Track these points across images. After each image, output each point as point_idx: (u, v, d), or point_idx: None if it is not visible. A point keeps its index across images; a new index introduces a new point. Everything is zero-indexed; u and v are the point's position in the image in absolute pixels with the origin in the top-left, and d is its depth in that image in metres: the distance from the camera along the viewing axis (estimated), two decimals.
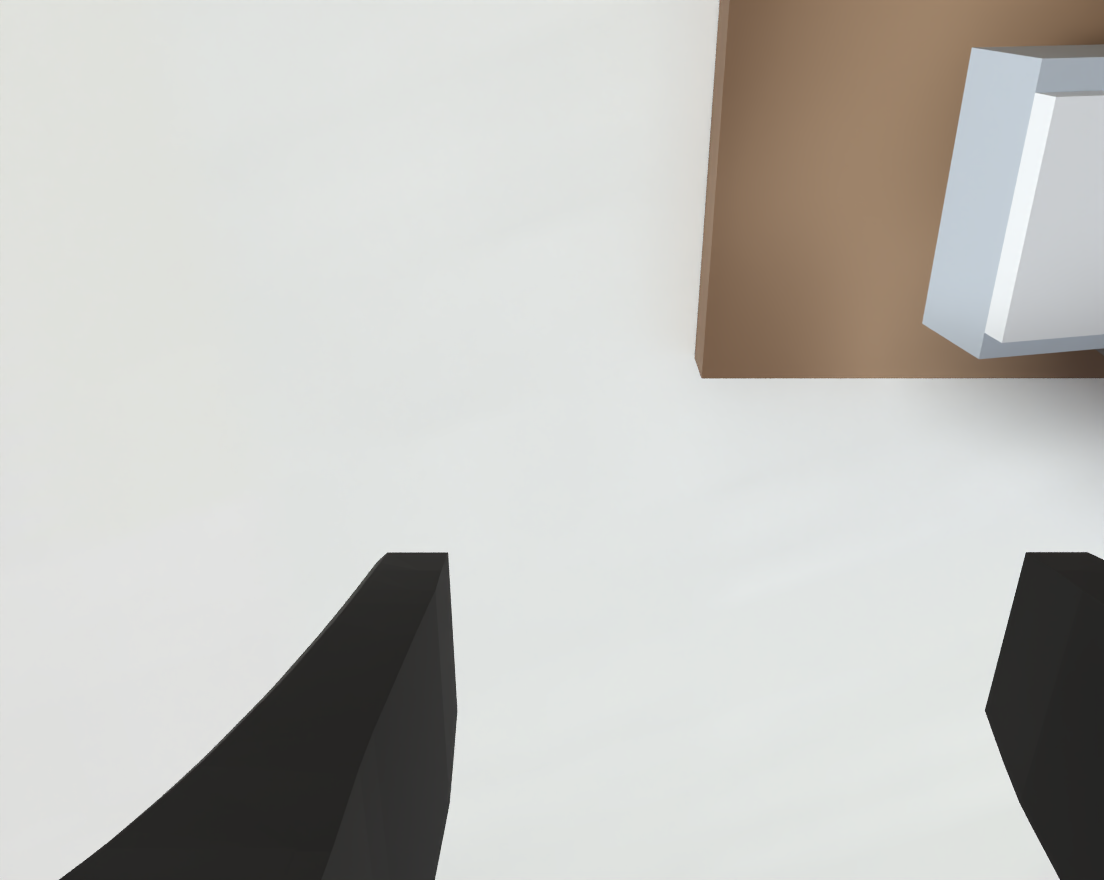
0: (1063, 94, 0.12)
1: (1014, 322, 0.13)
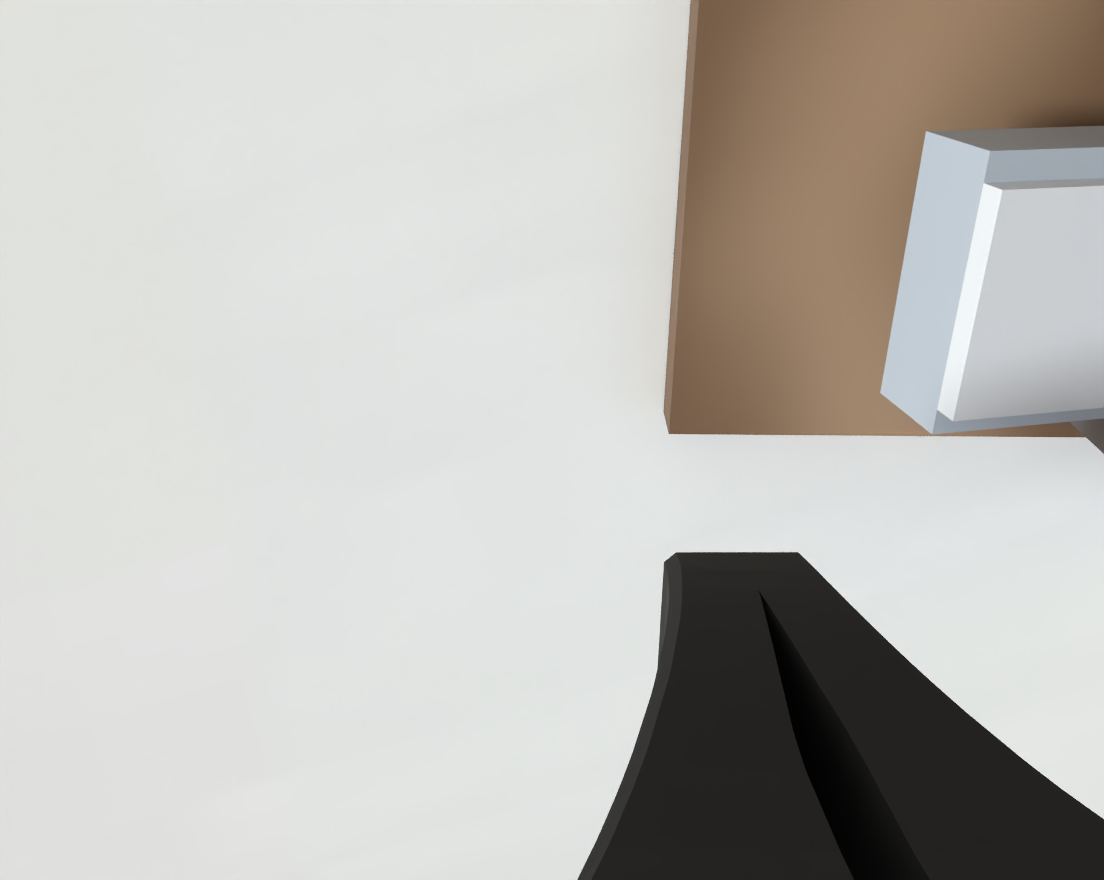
0: (1009, 186, 0.12)
1: (965, 402, 0.14)
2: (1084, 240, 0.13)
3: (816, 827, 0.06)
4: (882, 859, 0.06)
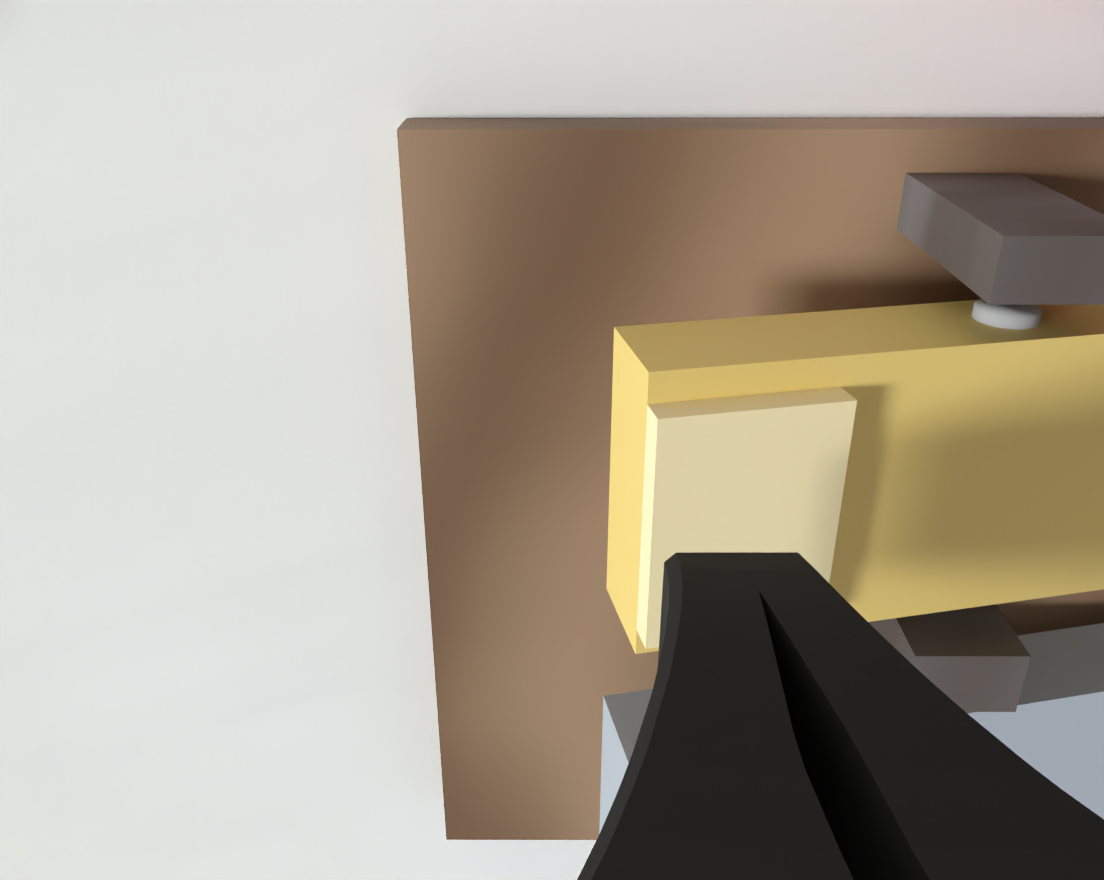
0: None
1: None
2: None
3: (815, 827, 0.06)
4: (882, 859, 0.06)
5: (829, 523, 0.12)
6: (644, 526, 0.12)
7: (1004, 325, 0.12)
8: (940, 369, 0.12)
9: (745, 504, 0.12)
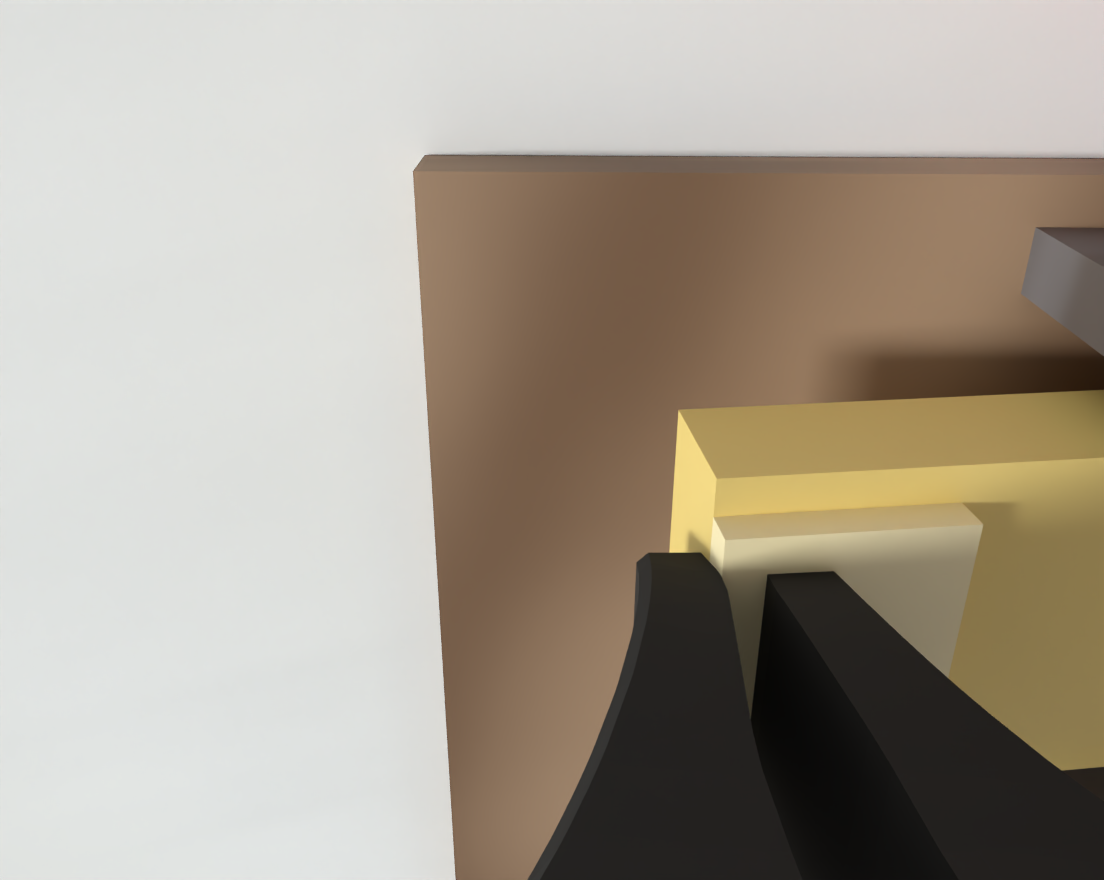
0: None
1: None
2: None
3: (768, 827, 0.06)
4: (907, 859, 0.06)
5: (939, 669, 0.10)
6: None
7: None
8: (1093, 485, 0.09)
9: None
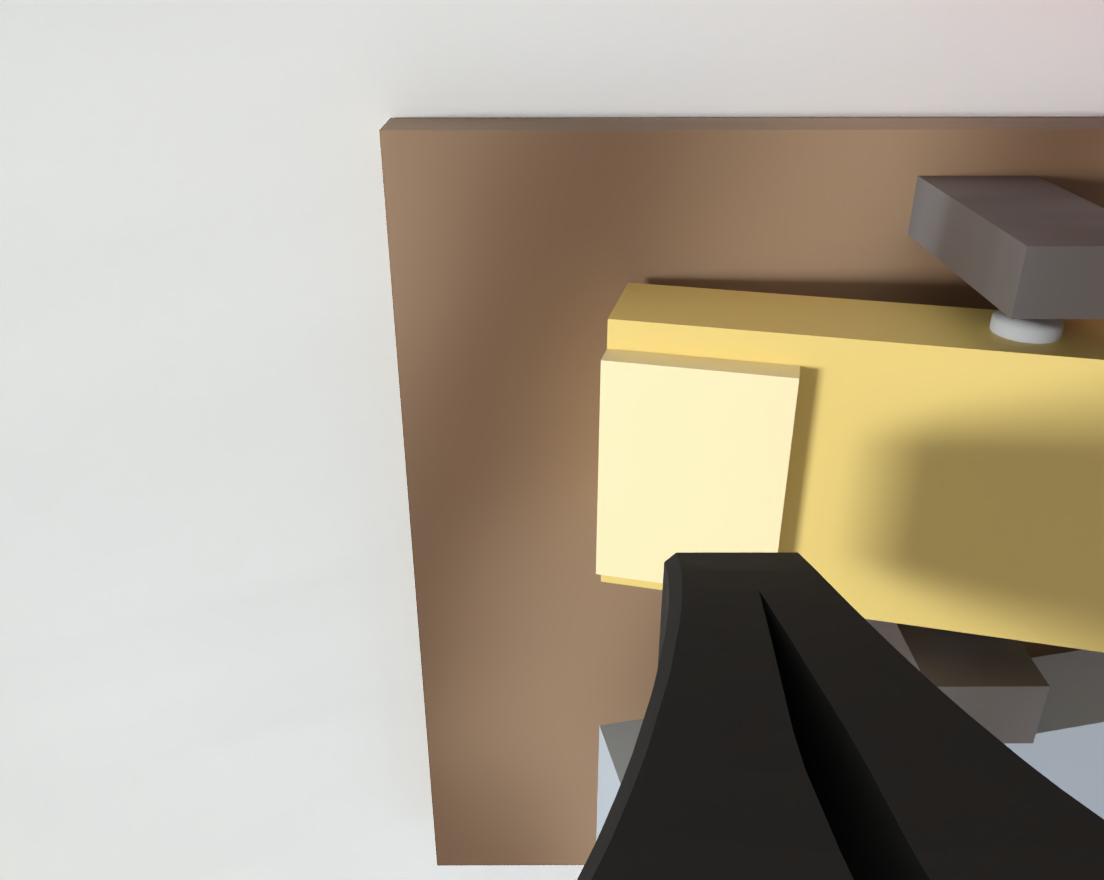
0: None
1: None
2: None
3: (816, 827, 0.06)
4: (883, 859, 0.06)
5: (774, 497, 0.12)
6: (602, 461, 0.13)
7: (1009, 336, 0.12)
8: (912, 366, 0.12)
9: (687, 458, 0.12)
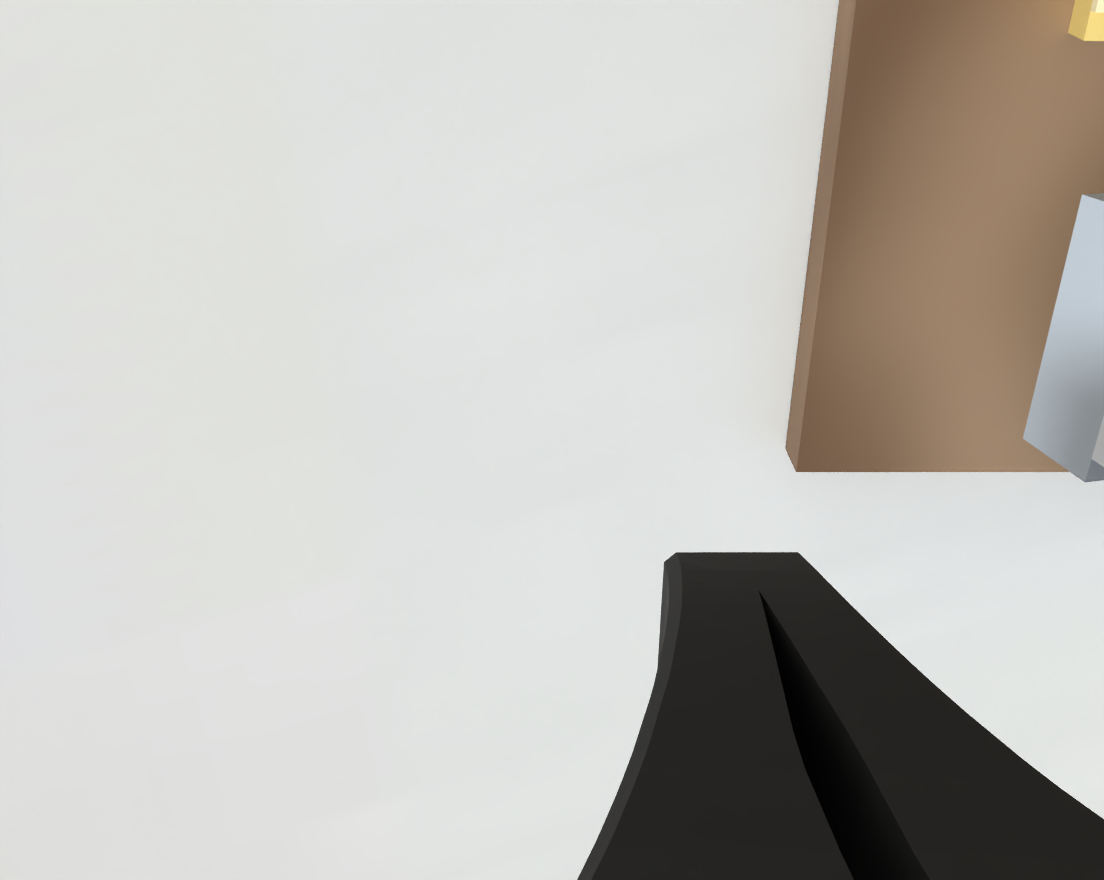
0: None
1: None
2: None
3: (815, 827, 0.06)
4: (882, 859, 0.06)
5: None
6: None
7: None
8: None
9: None
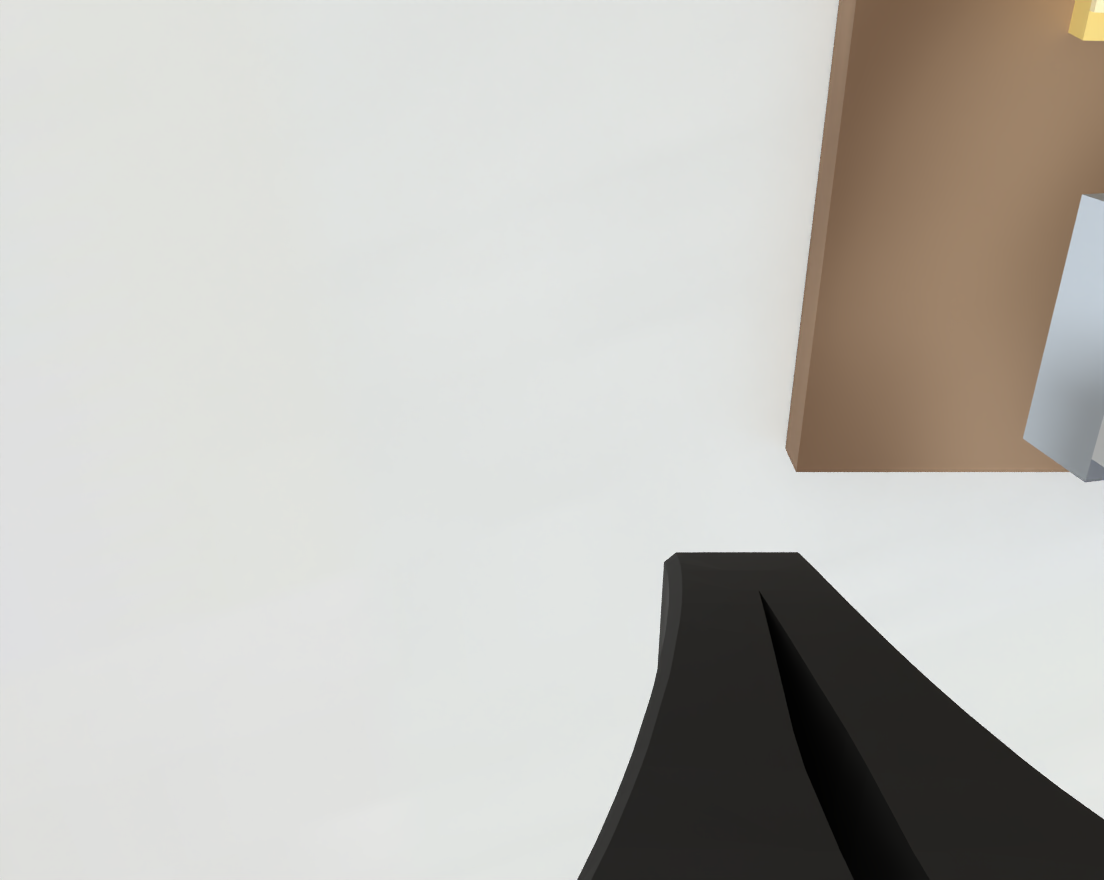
0: None
1: None
2: None
3: (815, 827, 0.06)
4: (882, 859, 0.06)
5: None
6: None
7: None
8: None
9: None
